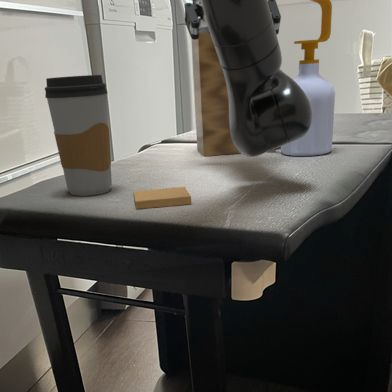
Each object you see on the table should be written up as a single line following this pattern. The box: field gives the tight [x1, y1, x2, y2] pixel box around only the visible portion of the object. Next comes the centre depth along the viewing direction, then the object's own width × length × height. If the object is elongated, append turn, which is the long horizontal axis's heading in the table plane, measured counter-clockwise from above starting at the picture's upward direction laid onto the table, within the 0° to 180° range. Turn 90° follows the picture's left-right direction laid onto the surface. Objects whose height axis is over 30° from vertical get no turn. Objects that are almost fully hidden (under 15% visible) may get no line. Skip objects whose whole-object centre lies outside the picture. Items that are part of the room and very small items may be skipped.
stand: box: [190, 14, 242, 157], centre depth 100 cm, size 8×8×23 cm
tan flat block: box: [132, 186, 192, 210], centre depth 71 cm, size 7×6×1 cm
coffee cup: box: [44, 74, 113, 197], centre depth 76 cm, size 8×8×15 cm
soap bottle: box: [280, 0, 336, 157], centre depth 93 cm, size 9×9×25 cm
